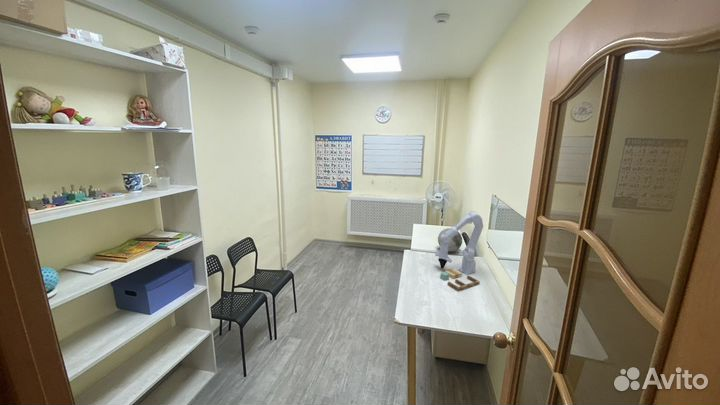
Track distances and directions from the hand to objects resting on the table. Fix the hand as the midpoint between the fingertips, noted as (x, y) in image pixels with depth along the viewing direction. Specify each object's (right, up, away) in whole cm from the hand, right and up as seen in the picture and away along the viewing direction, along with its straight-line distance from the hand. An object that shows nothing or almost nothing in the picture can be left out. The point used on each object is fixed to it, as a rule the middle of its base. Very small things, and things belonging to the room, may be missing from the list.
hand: (442, 267), depth 200 cm
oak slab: (+5, -4, -8) cm, 10 cm away
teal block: (-3, -4, -13) cm, 14 cm away
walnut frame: (+8, -6, -21) cm, 23 cm away
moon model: (+17, +6, +36) cm, 40 cm away
